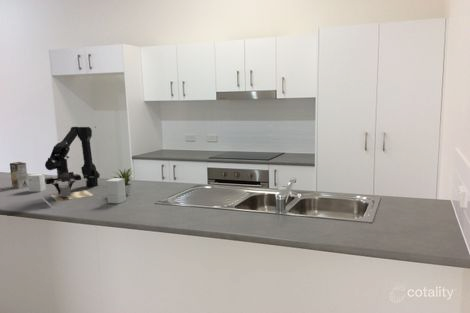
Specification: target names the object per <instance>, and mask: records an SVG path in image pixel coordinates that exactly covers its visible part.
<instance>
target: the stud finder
mask: <svg viewBox="0 0 470 313" xmlns="http://www.w3.org/2000/svg"><path fill="white" fill-rule="evenodd" d="M71 189H72V188H71ZM71 189H70V187H69V186H68V184H61V185H60V184H59V190H60V194H59V193H58V192H57V194H58V195H60V196H61V197H66V196H71V191H72V190H71Z"/></svg>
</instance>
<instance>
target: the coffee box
mask: <svg viewBox="0 0 470 313" xmlns="http://www.w3.org/2000/svg"><path fill="white" fill-rule="evenodd" d="M9 170H10V177H11V178H10V179H11V180H10V181H11V187H12V188H16V189H23V188H24V189H25V188H29V185H28V172H27V170H28V169H27V162H22V161H17V162H10V163H9Z"/></svg>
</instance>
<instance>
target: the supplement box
mask: <svg viewBox="0 0 470 313" xmlns="http://www.w3.org/2000/svg"><path fill="white" fill-rule="evenodd" d="M105 184H106V197H107V203H108V204H120V203H123V202H125V200H127V196H126V195H127V194H126V193H125V179H121V178H120V177H119V178H113V177H112V178H110V179H107V180H105Z"/></svg>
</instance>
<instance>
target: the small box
mask: <svg viewBox="0 0 470 313" xmlns="http://www.w3.org/2000/svg"><path fill="white" fill-rule="evenodd" d="M45 178H46V176H45V173H31V174H27V180H28V191H29V192H30V193H31V192H33V193H34V192H38V193H39V192H43V191H45V190H47V187H46V183H45Z"/></svg>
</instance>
